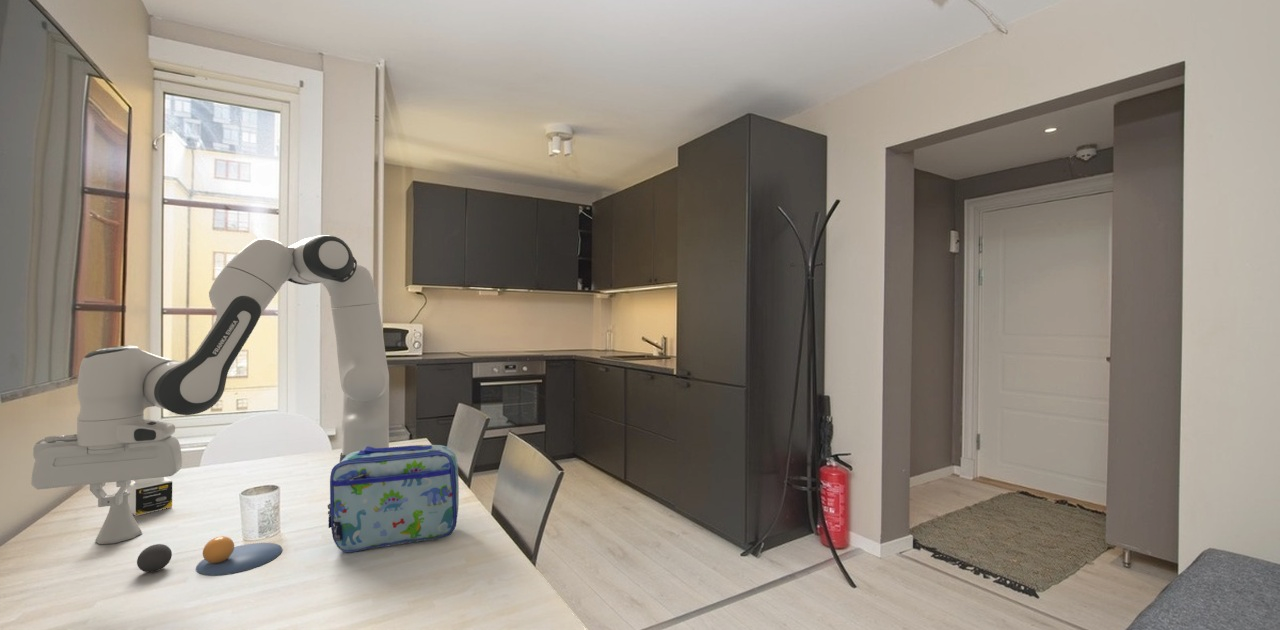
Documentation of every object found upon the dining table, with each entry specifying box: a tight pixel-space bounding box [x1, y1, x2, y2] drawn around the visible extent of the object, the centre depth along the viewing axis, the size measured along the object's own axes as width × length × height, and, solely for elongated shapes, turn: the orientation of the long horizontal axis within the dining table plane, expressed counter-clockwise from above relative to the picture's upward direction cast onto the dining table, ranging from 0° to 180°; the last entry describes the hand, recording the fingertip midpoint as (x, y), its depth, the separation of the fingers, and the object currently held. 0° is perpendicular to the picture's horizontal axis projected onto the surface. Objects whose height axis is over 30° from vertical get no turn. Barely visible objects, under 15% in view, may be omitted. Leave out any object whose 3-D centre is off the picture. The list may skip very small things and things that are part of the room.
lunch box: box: [327, 444, 460, 553], centre depth 116 cm, size 26×11×21 cm, turn 107°
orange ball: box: [202, 535, 235, 563], centre depth 105 cm, size 5×5×5 cm
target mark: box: [195, 542, 283, 576], centre depth 107 cm, size 14×14×1 cm
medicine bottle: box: [126, 477, 173, 517], centre depth 134 cm, size 7×7×12 cm
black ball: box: [136, 543, 173, 573], centre depth 102 cm, size 5×5×5 cm
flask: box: [94, 491, 143, 545], centre depth 117 cm, size 7×7×10 cm
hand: (110, 505), depth 98 cm, fingers closed
